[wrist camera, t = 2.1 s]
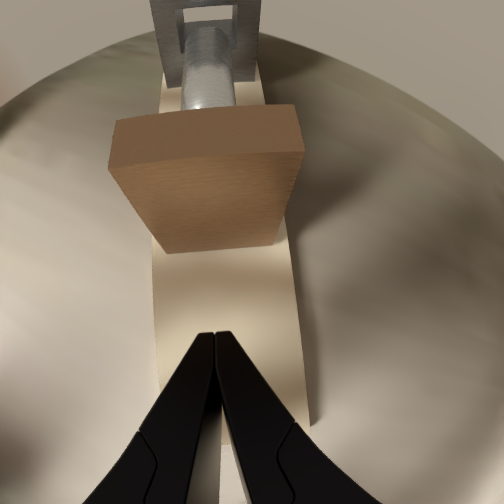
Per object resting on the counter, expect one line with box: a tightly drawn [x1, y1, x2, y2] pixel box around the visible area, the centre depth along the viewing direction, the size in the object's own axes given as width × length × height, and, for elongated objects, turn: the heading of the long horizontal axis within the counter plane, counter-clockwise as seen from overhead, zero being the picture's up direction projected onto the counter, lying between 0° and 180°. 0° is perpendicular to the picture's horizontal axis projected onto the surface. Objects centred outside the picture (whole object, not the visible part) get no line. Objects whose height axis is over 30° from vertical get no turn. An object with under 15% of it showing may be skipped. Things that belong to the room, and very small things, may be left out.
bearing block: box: [150, 0, 261, 89], centre depth 18 cm, size 5×7×9 cm
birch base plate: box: [152, 60, 310, 445], centre depth 19 cm, size 30×8×1 cm, turn 6°
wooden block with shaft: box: [108, 27, 306, 254], centre depth 15 cm, size 12×6×9 cm, turn 6°
